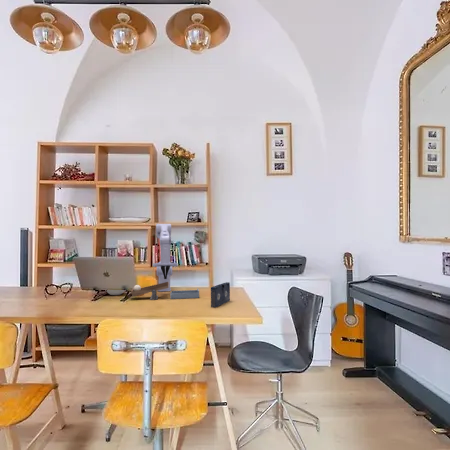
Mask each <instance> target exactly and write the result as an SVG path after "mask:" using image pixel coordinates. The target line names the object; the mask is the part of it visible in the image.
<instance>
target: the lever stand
mask: <svg viewBox="0 0 450 450" xmlns="http://www.w3.org/2000/svg"><path fill="white" fill-rule="evenodd" d="M158 299H159V295H158V294H157V291H156V289H153V290H152V292H151V295H150V298H149V301H157V300H158Z"/></svg>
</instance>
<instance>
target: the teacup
mask: <svg viewBox="0 0 450 450" xmlns="http://www.w3.org/2000/svg"><path fill="white" fill-rule="evenodd" d="M106 292H107V294H109V295H110V296H120V295H122V294H123V293H124V292H125V290H107V291H106Z"/></svg>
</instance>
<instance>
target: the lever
mask: <svg viewBox="0 0 450 450" xmlns="http://www.w3.org/2000/svg"><path fill="white" fill-rule="evenodd" d="M168 287H169V282H165V283H161V284H159V283H157V284H154V285H153V284H152V285H149V286H145V287H141V290H138V291H134V289H133V288H132V289H131V291H130V293H131V297H136V296H141V295H144V294H148V293H152V290H153V289H156V292H159V291H158V290H162V289H166V288H168Z"/></svg>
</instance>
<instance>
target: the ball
mask: <svg viewBox="0 0 450 450" xmlns="http://www.w3.org/2000/svg"><path fill="white" fill-rule="evenodd" d="M141 288H142V287H141V285H139V284H136V285H134V286H133V288H132V289H134V291H138V290H141Z"/></svg>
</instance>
